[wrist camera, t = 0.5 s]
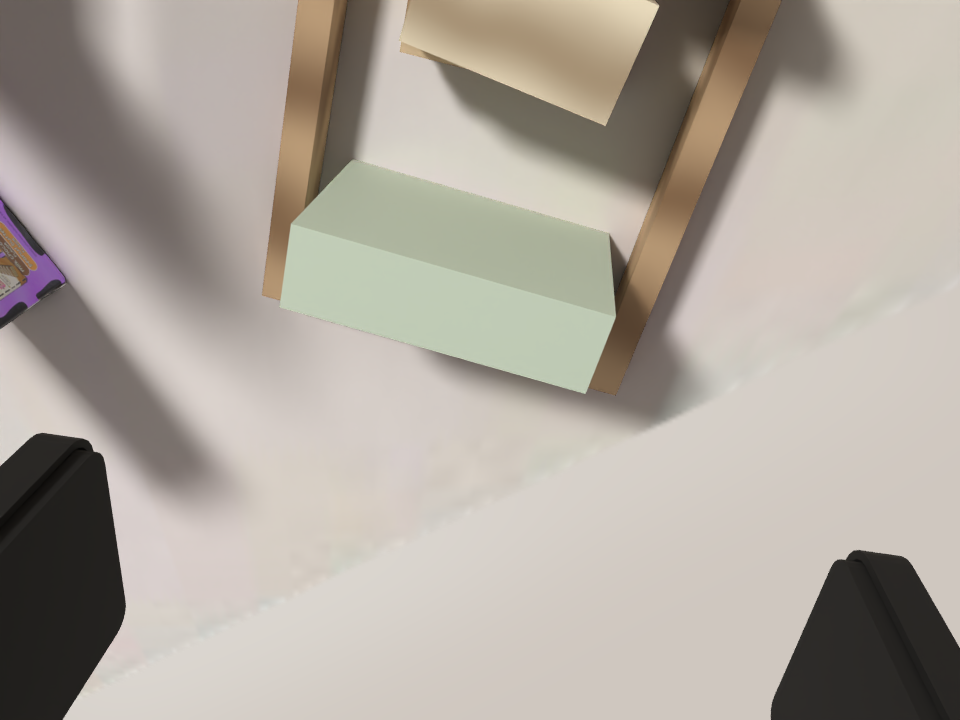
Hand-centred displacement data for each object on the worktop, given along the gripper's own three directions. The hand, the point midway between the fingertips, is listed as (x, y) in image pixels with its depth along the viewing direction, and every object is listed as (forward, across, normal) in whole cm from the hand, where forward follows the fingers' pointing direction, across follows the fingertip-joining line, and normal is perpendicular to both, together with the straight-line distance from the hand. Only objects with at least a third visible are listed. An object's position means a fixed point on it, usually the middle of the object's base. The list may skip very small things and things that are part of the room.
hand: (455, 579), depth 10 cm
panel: (+32, +2, +7) cm, 33 cm away
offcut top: (+28, 0, -5) cm, 28 cm away
